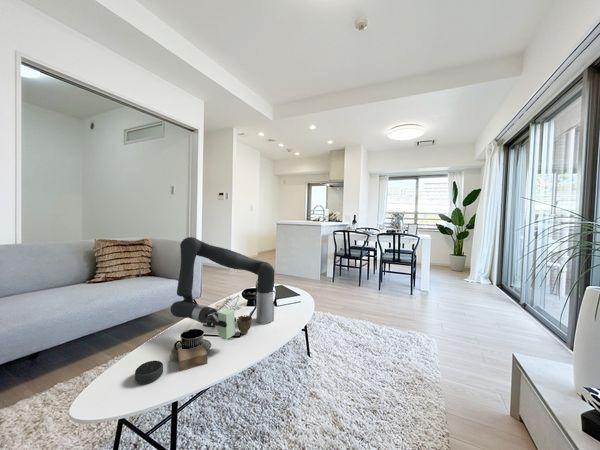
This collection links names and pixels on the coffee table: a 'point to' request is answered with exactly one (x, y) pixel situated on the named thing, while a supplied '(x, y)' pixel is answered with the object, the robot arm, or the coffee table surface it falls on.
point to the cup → (244, 324)
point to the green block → (227, 317)
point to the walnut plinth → (192, 357)
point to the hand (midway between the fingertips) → (230, 322)
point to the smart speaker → (148, 372)
